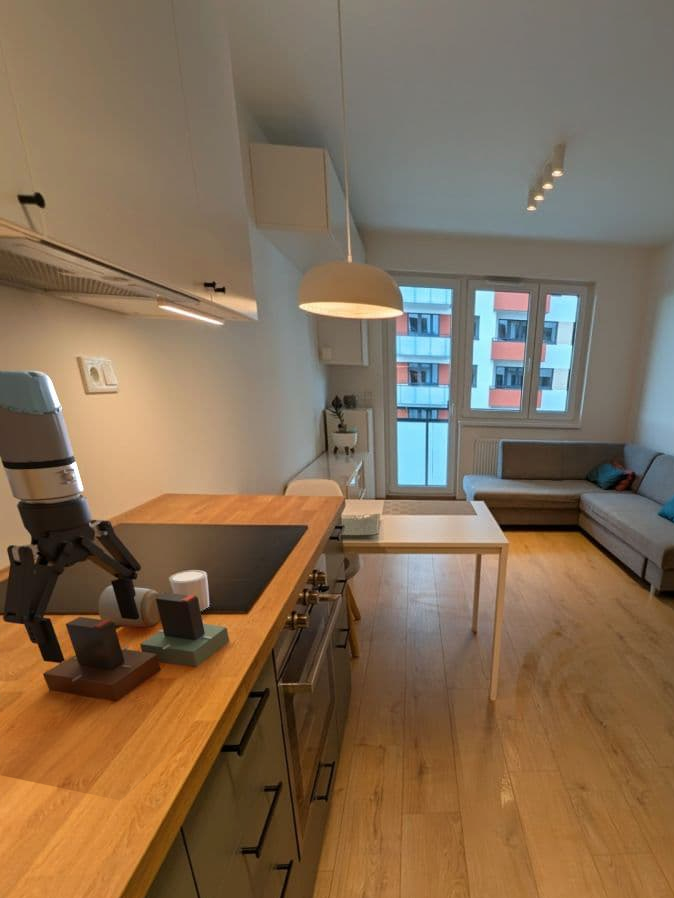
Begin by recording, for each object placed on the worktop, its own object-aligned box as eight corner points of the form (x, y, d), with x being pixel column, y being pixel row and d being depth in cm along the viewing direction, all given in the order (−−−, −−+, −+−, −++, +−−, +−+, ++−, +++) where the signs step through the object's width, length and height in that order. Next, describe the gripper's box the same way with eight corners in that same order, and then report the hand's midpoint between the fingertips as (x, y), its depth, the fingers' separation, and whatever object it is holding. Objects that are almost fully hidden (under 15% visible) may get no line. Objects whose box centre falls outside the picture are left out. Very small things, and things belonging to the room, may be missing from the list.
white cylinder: (171, 606, 103) (164, 574, 100) (206, 597, 108) (200, 567, 105) (181, 618, 99) (174, 585, 96) (217, 608, 103) (211, 576, 100)
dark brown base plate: (45, 692, 76) (38, 674, 75) (101, 658, 85) (96, 641, 84) (113, 704, 74) (108, 686, 72) (163, 667, 83) (159, 651, 81)
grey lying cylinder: (149, 634, 93) (140, 595, 90) (103, 633, 92) (92, 594, 89) (175, 609, 102) (168, 574, 99) (134, 609, 102) (125, 573, 99)
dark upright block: (164, 635, 86) (155, 597, 83) (174, 629, 88) (165, 591, 85) (195, 640, 85) (187, 601, 82) (205, 633, 87) (197, 595, 84)
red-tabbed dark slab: (78, 664, 77) (64, 622, 74) (92, 656, 80) (79, 615, 77) (112, 669, 76) (99, 627, 73) (125, 661, 79) (113, 619, 76)
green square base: (140, 661, 84) (136, 644, 83) (182, 633, 93) (179, 617, 92) (194, 669, 83) (191, 652, 81) (232, 639, 92) (229, 624, 90)
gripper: (-25, 524, 55) (38, 686, 64) (146, 480, 78) (175, 605, 87) (-79, 519, 57) (-10, 679, 66) (104, 478, 79) (137, 601, 88)
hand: (95, 637), depth 76 cm, fingers open, 13 cm apart
